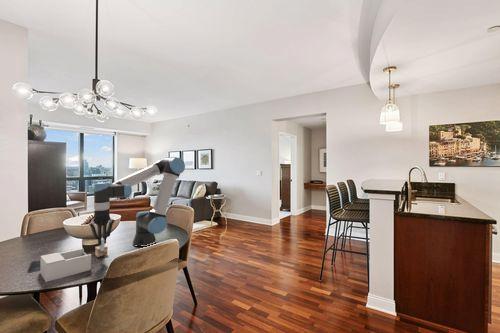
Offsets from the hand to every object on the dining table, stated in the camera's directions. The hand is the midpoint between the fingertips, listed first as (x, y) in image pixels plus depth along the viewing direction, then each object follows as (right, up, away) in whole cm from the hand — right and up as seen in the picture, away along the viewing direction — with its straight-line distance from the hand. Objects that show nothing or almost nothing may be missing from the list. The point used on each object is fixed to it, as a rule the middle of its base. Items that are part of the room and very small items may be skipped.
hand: (102, 250), depth 133 cm
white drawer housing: (-10, -6, -14) cm, 18 cm away
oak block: (-6, -6, +9) cm, 13 cm away
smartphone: (-29, -6, -9) cm, 31 cm away
